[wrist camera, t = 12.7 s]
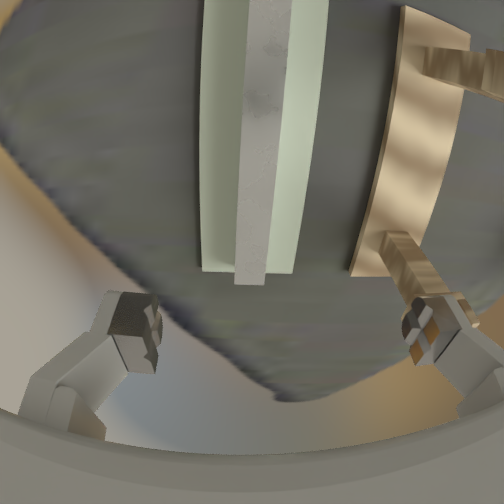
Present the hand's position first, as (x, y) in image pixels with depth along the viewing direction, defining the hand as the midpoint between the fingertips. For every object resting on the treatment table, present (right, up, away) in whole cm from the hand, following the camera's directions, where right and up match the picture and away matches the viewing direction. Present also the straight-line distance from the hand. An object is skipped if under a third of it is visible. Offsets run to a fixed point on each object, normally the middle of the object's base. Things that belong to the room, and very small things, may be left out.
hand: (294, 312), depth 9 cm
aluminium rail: (-1, +12, +16) cm, 20 cm away
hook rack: (+15, +12, +18) cm, 26 cm away
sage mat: (-1, +12, +17) cm, 21 cm away
